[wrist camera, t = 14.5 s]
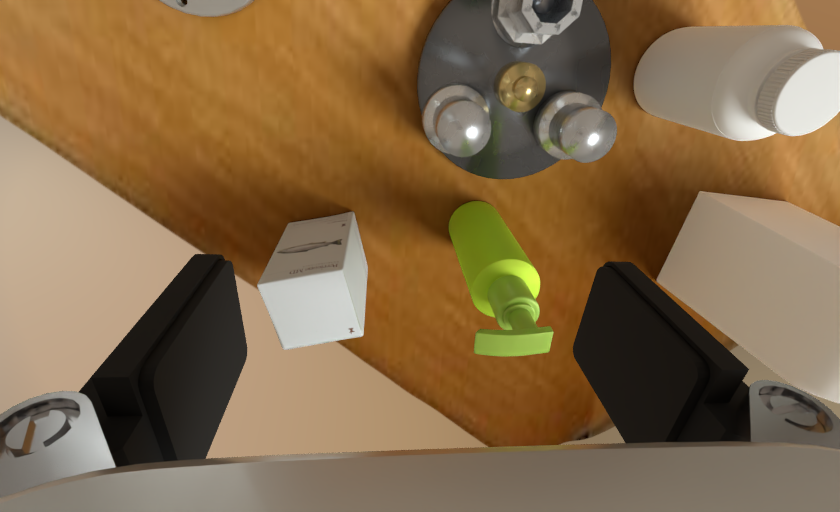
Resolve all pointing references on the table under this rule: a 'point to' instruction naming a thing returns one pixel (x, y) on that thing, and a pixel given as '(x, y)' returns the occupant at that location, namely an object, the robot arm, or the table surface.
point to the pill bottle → (740, 80)
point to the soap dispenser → (498, 282)
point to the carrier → (514, 92)
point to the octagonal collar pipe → (533, 19)
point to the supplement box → (317, 282)
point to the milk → (764, 283)
